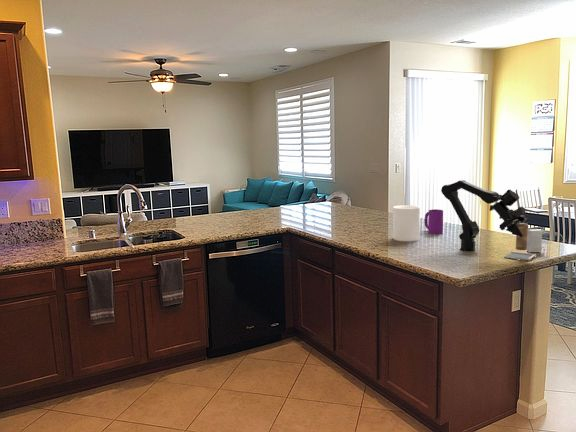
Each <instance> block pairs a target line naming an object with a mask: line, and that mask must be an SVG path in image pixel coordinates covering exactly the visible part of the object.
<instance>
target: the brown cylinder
mask: <svg viewBox="0 0 576 432" xmlns="http://www.w3.org/2000/svg"><path fill="white" fill-rule="evenodd" d="M517 227H518V229H519V230H520V232H521V233H522V235H523V236H522V237H520V236H518V235H516V234H515V235H516V237H515V250H518V251H527V235H528V230H529V223H525V222H524V223H517Z"/></svg>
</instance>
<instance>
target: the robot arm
mask: <svg viewBox="0 0 576 432" xmlns="http://www.w3.org/2000/svg"><path fill="white" fill-rule="evenodd" d="M461 189H462V190H464V191H466V192H468V193H470V194H473V195H474V196H476V197H478V198H480V199H481V200H482V201H483V202H485V203H486V204H492V205H489V211H490V212H491V211H495V212H496V213H497V215H498V216H499V217H498V218H499V219H500V220H502V221H503V222H502V223H500V224H499V229H500V230H501V231H507V232H509V233H512V234H514V235H518V236H520V237H522V236H523V235H522V233H521V232H520V230H519V229H518V227H517V223H525V222H526V220H528V217H527V216H526V215H525V214H527V213H526V211H527V209H526V208H525V207H524V206H519V207H517V209H515V210H514V209H511V208H509V207H512V206H513V205H514V204H515V203H516V202H517V201H518V200H519V199H520V196H519V194H518V193H516V192H515V191H513V190H512V189H507V190H506V192H504V193H503V194H499V192H496V191H493V190H490V189H489V190H488V189H483V188H481V187H480V186H477V185H475V184H472V183H470V182H468V181H466V180H464V179H461V180H458V181H456V182H453V183H449V184H444V185H442V187H441V191H440V192H441V194H442V195H443V196H444V198H446V199H447V200H448V201H449V202H450V204H451V205H452V207H453V210H454V212H455V213H456V215H457V217H458V219H459V221H460V223H461V229H462V232H461V233H460V234H459V235H458V237H459V239H460V248H459V250H460V251H466V252H469V251H470V252H473V251H475V250H476V241H475V239H476V238H477V236H478V235H479V232H480V226H479V225H478V223H477V221H476V220H474V221H472V220H471V219H470V217H469V215H468V212H467V211H466V209H465V208H464V205H463V204H462V202H461V200H460V198H459V190H461Z"/></svg>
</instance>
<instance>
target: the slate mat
mask: <svg viewBox="0 0 576 432" xmlns="http://www.w3.org/2000/svg"><path fill="white" fill-rule="evenodd" d="M535 256H536V257H537V254H536V253H529V252H522V251H521V252H520V251H515V250H511V251H510V253H509V254H506V255H505V256H503V259H507V258H511V259H510V260H514V259H520V260H519V261H522V260H528V261H527V262H530V261H529V260H531V259H532V258H534V257H535ZM536 257H535V258H536ZM535 258H534V259H535ZM532 260H533V259H532ZM532 260H531V261H532Z"/></svg>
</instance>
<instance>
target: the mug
mask: <svg viewBox="0 0 576 432" xmlns="http://www.w3.org/2000/svg"><path fill="white" fill-rule="evenodd" d="M424 227H425V228H426V229H427V230H428V233H429V234H432V235H440V234H441V235H442V234H443V233H444V210H443V209H436V208H435V209H429V210H428V211H426V213H425V215H424Z"/></svg>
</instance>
